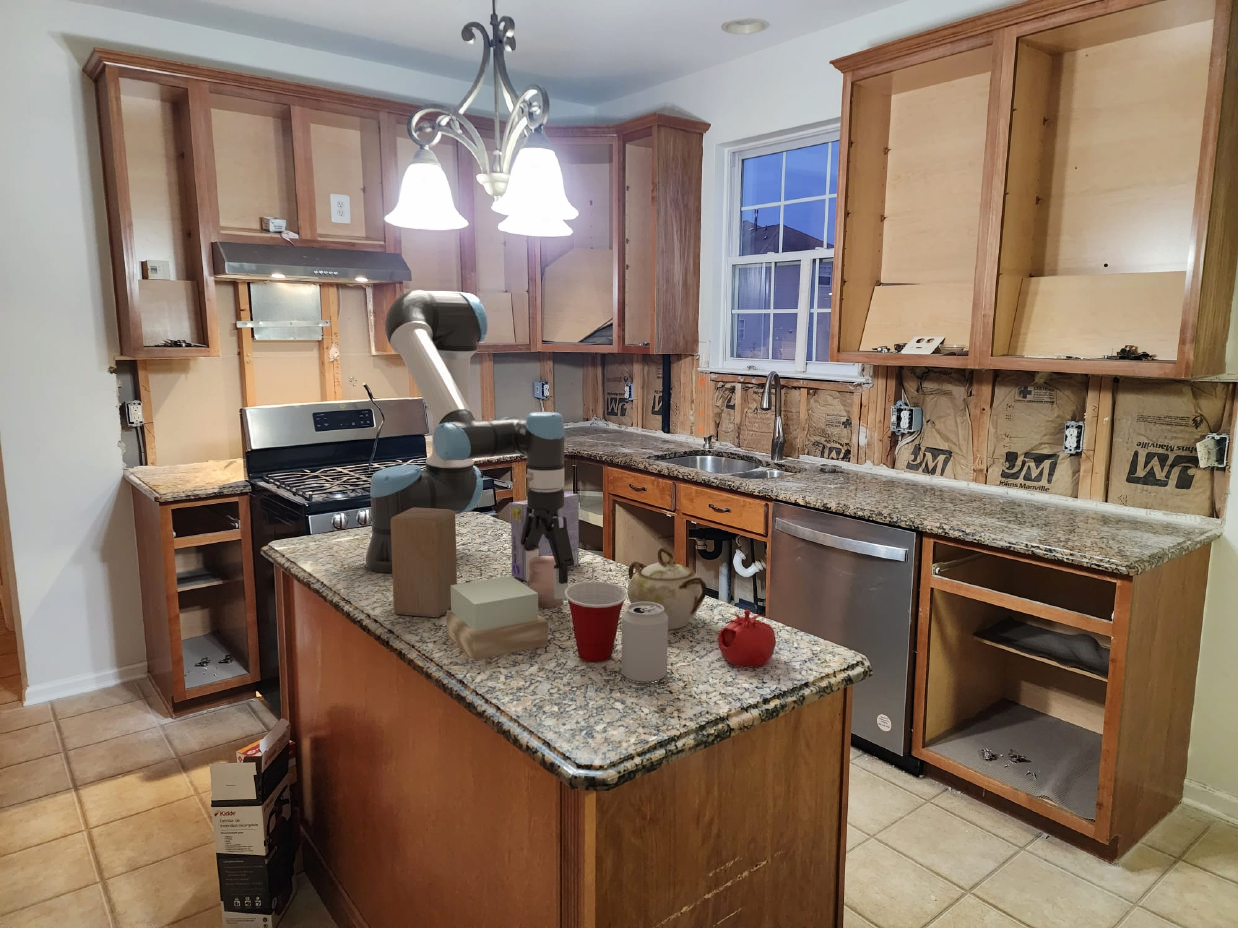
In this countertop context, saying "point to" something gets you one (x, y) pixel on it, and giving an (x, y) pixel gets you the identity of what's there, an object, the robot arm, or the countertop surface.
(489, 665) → the countertop surface
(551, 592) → the pink rounded cylinder
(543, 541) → the cake pan box
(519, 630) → the tower base
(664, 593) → the sugar bowl
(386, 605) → the countertop surface
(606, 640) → the plastic cup
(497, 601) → the tower top
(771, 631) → the pomegranate
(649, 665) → the can
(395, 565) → the block
